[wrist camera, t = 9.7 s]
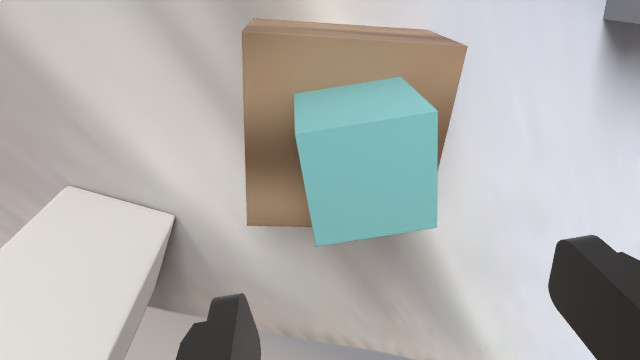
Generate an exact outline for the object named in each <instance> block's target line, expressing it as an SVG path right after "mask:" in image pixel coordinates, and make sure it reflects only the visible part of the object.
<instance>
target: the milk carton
mask: <svg viewBox="0 0 640 360" xmlns="http://www.w3.org/2000/svg"><path fill="white" fill-rule="evenodd" d="M174 219H175V216H174V215H171V214H168V213H165V212H161V211H158V210H154V209H150V208H147V207H143V206H140V205H136V204H133V203H129V202H126V201H122V200H118V199H115V198H111V197H108V196H104V195H101V194H97V193H94V192H90V191H86V190H83V189H79V188H75V187H71V186H67V187H65V188H64V189H63V190H62V191H61V192H60V193H59V194H58V195H57V196H56V197H55V198H53V199H52V200H51V201H50V202H49V203H48V204H47V205H46V206H45V207H44V208H43V209H42V210H41V211H40V212H39V213H38V214H37V215H35V216H34V217H33V218H32V219H31V220H30V221H29V222H28V223H27V224H26V225H25V226H24V227H23V228H22V229H21V230H20V231H19V232H17V233H16V234H15V235H14V236H13V237H12V238H11V239H10V240H9V241H8V242H7V243H6V244H5V245H4V246H3V247H2V248H1V249H0V360H124V359H125V356H126V354H127V352H128V349H129V347H130V344H131V342H132V340H133V338H134V335H135V333H136V331H137V328H138V326H139V324H140V321H141V319H142V317H143V315H144V312H145V310H146V307H147V305H148V303H149V301H150V298H151V296H152V294H153V291H154V289H155V286H156V282H157V279H158V275H159V272H160V268H161V265H162V261H163V258H164V254H165V251H166V247H167V244H168V240H169V237H170V233H171V230H172V226H173V223H174Z"/></svg>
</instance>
